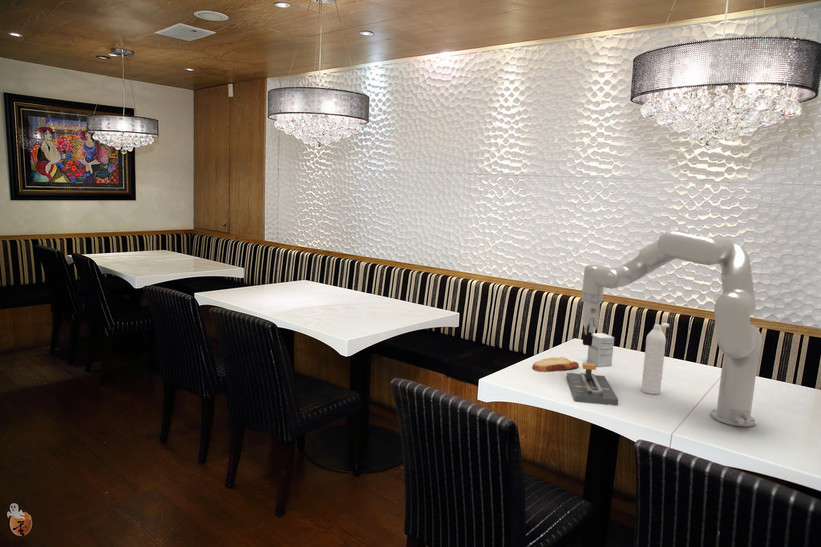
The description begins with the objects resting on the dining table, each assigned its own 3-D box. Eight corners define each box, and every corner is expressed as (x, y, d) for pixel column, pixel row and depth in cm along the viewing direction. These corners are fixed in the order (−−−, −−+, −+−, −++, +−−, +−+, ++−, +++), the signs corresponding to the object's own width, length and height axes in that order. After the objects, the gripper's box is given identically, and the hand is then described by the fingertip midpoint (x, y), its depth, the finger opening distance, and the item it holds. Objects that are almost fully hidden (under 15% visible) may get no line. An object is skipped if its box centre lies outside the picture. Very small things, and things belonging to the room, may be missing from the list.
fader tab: (594, 380, 209) (596, 365, 208) (582, 379, 210) (583, 364, 209) (593, 378, 212) (594, 363, 211) (581, 377, 212) (582, 362, 212)
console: (617, 405, 190) (618, 396, 190) (575, 401, 192) (575, 392, 192) (604, 381, 216) (604, 372, 215) (566, 377, 218) (567, 369, 217)
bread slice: (531, 371, 225) (531, 362, 224) (535, 359, 242) (536, 351, 241) (577, 377, 220) (578, 368, 219) (579, 365, 237) (579, 356, 236)
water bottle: (651, 395, 202) (659, 327, 198) (637, 389, 207) (644, 323, 204) (668, 392, 206) (675, 325, 202) (653, 386, 211) (660, 321, 208)
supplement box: (586, 362, 240) (589, 333, 239) (601, 361, 243) (603, 332, 241) (597, 367, 233) (599, 337, 232) (612, 366, 236) (614, 337, 234)
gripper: (606, 302, 205) (600, 351, 207) (599, 295, 219) (594, 340, 222) (584, 300, 206) (579, 349, 208) (579, 293, 220) (574, 339, 223)
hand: (587, 344), depth 215 cm, fingers closed
